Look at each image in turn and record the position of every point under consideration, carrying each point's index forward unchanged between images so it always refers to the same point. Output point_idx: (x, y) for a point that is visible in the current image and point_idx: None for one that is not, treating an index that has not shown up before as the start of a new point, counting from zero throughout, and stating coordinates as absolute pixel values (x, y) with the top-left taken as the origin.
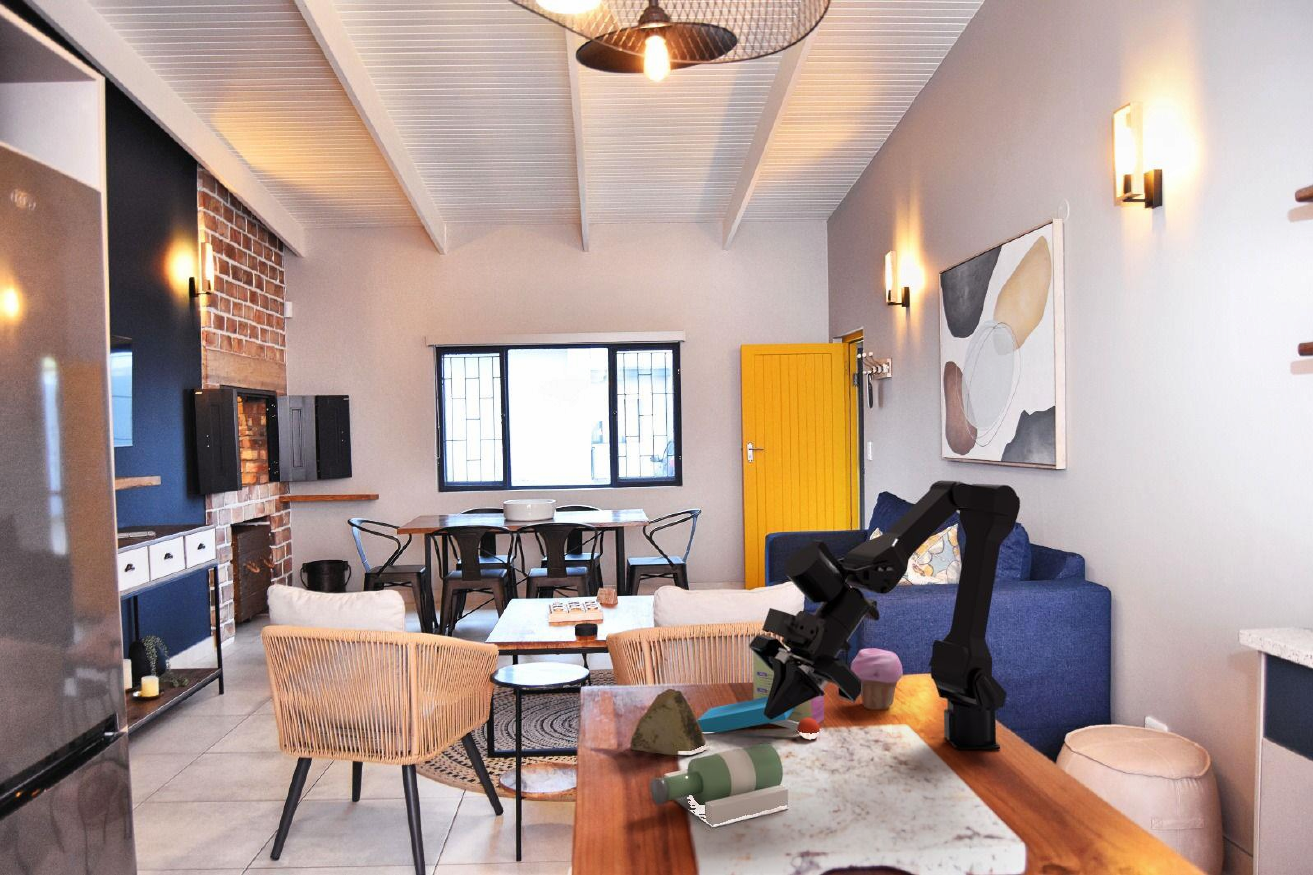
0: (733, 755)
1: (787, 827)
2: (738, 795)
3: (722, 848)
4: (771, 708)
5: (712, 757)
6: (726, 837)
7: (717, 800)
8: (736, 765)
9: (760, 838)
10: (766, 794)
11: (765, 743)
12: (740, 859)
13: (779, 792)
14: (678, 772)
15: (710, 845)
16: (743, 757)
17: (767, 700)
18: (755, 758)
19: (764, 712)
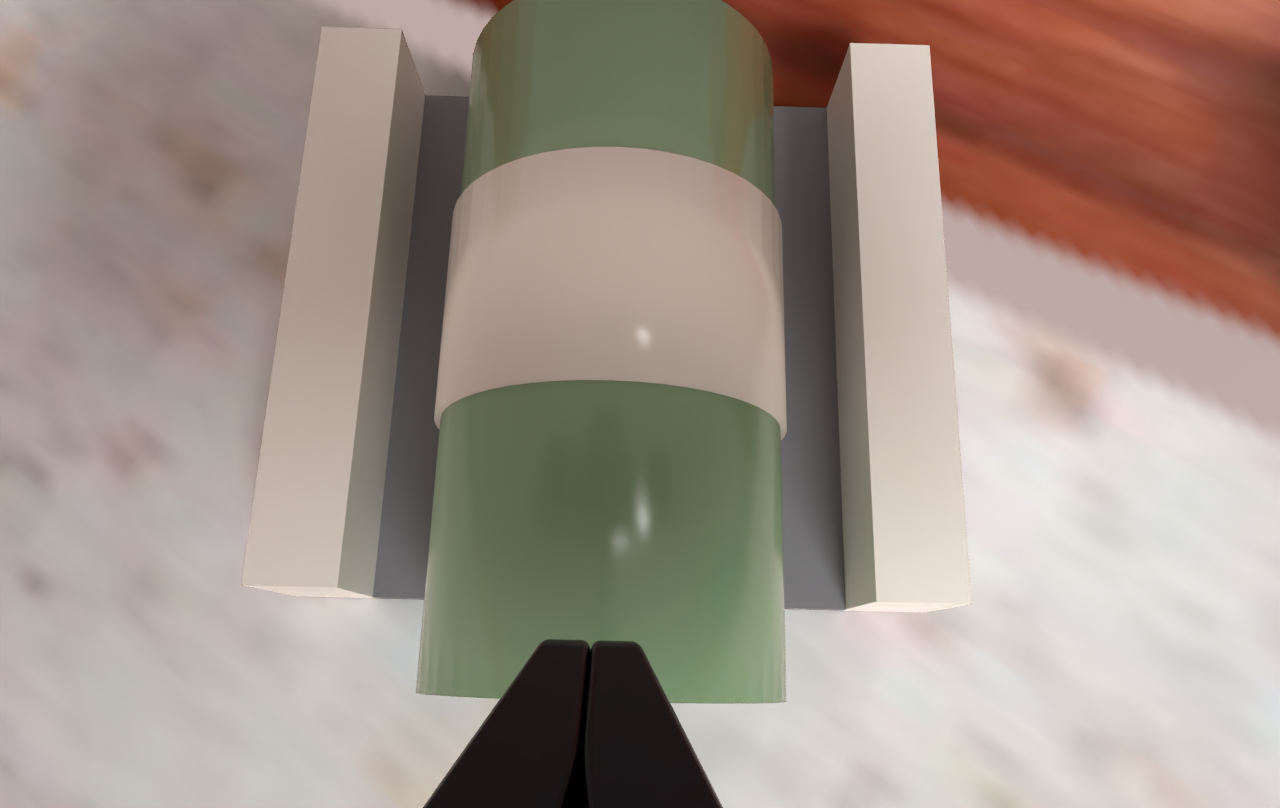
0: (547, 243)
1: (110, 437)
2: (367, 239)
3: (149, 34)
4: (495, 716)
5: (603, 83)
6: (231, 107)
7: (378, 94)
8: (476, 247)
9: (108, 237)
10: (268, 401)
11: (677, 701)
12: (6, 43)
13: (256, 512)
14: (911, 124)
15: (211, 7)
16: (504, 322)
17: (706, 791)
18: (480, 438)
19: (615, 644)
